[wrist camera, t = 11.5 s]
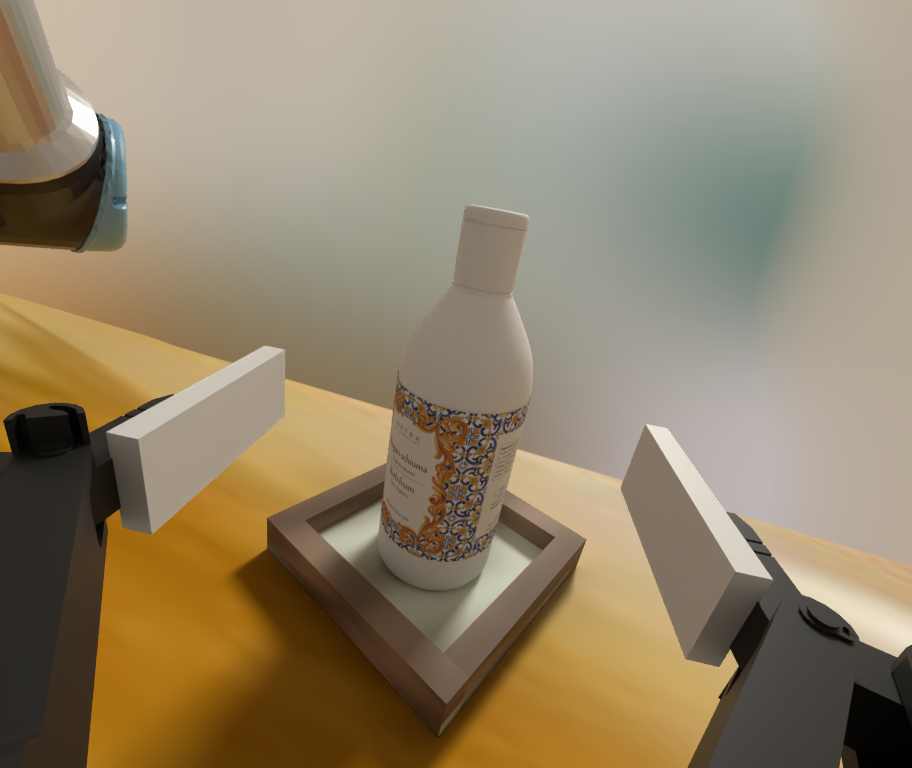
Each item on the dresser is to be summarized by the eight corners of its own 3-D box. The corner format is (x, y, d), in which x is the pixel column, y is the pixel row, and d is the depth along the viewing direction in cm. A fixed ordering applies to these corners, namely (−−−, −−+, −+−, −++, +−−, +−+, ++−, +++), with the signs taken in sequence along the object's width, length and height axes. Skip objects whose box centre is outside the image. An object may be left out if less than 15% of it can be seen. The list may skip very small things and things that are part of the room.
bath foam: (355, 534, 27) (388, 189, 19) (440, 498, 31) (495, 208, 24) (421, 617, 22) (500, 211, 15) (509, 562, 27) (606, 229, 19)
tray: (267, 547, 26) (267, 517, 25) (426, 466, 36) (430, 443, 35) (438, 737, 18) (446, 704, 17) (576, 565, 29) (586, 539, 28)
